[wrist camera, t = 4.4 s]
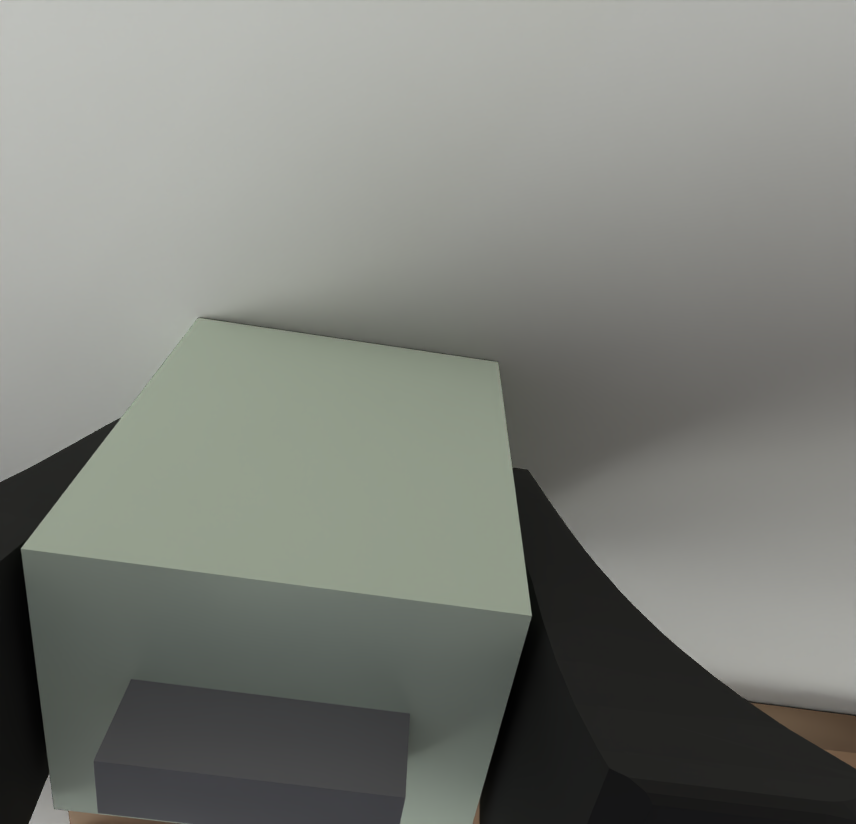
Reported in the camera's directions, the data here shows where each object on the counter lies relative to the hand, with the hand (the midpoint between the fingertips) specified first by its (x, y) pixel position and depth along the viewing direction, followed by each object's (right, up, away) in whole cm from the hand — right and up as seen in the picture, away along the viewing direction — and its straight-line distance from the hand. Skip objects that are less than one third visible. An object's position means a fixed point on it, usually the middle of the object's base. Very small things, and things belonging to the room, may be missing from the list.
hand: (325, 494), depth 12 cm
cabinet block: (0, +1, +1) cm, 2 cm away
